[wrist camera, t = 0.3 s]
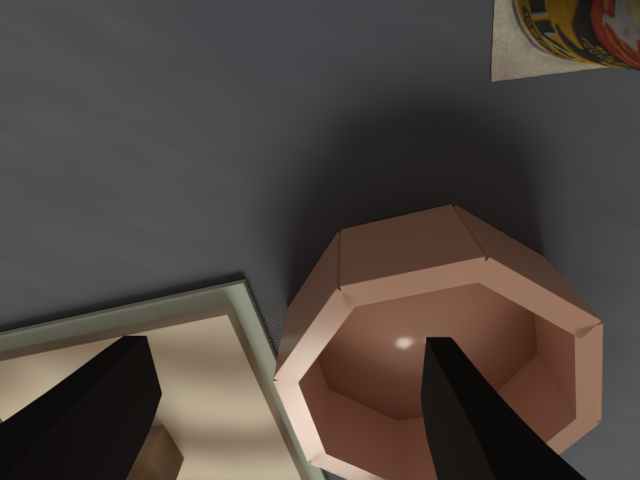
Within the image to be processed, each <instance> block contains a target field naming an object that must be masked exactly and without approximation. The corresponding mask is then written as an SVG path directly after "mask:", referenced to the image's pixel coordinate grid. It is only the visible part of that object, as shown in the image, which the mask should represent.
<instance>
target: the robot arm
mask: <svg viewBox="0 0 640 480" xmlns="http://www.w3.org/2000/svg"><path fill="white" fill-rule="evenodd" d="M161 396H162V391H161V387H160V383H159V380H158V376H157V372H156V369H155V365H154V361H153V357H152V354H151V350H150V346H149V343H148V339H147V336H123V337H121V338H120V339H118V340H117V341H115V342H114V343H112V344H111V345H110V346H108V347H107V348H105V349H104V350H103V351H101V352H100V353H99V354H97V355H96V356H95V357H93V358H92V359H91V360H89V361H88V362H87V363H85V364H84V365H82V366H81V367H80V368H78V369H77V370H76V371H74V372H73V373H72V374H70V375H69V376H68V377H66V378H65V379H64V380H62V381H61V382H59V383H58V384H57V385H55V386H54V387H53V388H51V389H50V390H49V391H47V392H46V393H44V394H43V395H41V396H40V397H38V398H37V399H36V400H34V401H33V402H31V403H30V404H28V405H27V406H25V407H24V408H23V409H21V410H20V411H18V412H17V413H15V414H14V415H12V416H11V417H9V418H8V419H7V420H5V421H4V422H2V423H1V424H0V480H126V479H127V477H128V475H129V473H130V471H131V469H132V467H133V464H134V462H135V460H136V458H137V456H138V454H139V452H140V450H141V448H142V446H143V444H144V442H145V440H146V438H147V435H148V433H149V431H150V428H151V426H152V423H153V420H154V417H155V415H156V412H157V408H158V405H159V402H160V399H161ZM420 398H421V405H422V412H423V419H424V425H425V431H426V437H427V441H428V445H429V449H430V453H431V457H432V461H433V464H434V468H435V472H436V476H437V479H438V480H586V479H585V478H584V477H583V476H581V475H580V474H579V473H578V472H577V471H576V470H575V469H574V468H572V467H571V466H570V465H569V464H568V463H567V462H566V461H565V460H563V459H562V458H561V457H560V456H559V455H558V454H557V453H556V452H555V451H554V450H553V449H552V448H550V447H549V446H548V445H547V444H546V443H545V442H544V441H543V440H542V439H541V438H540V437H539V436H538V435H537V434H536V433H535V432H534V431H533V430H532V429H531V428H530V427H529V426H528V425H527V424H526V423H525V422H524V421H523V420H522V419H521V418H520V417H519V416H518V414H517V413H516V412H515V411H514V410H513V409H512V408H511V407H510V406H509V405H508V404H507V403H506V401H505V400H504V399H503V398H502V397H501V396H500V395H499V394H498V393H497V391H496V390H495V389H494V388H493V387H492V386H491V385H490V383H489V382H488V381H487V380H486V379H485V378H484V376H483V375H482V374H481V373H480V372H479V370H478V369H477V368H476V367H475V366H474V364H473V363H472V362H471V361H470V359H469V358H468V357H467V356H466V354H465V353H464V352H463V351H462V349H461V348H460V347H459V346H458V344H457V343H456V342H455V341H454V340H453V339H452V338H451V337H426V344H425V354H424V365H423V375H422V386H421V396H420Z"/></svg>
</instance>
